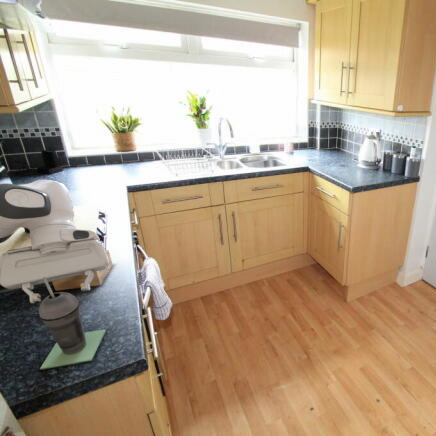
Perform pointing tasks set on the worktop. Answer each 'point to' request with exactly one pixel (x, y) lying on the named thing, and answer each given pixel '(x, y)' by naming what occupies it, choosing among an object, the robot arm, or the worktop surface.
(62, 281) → the holder
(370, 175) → the worktop surface
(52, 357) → the mat
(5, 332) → the worktop surface
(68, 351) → the beverage cup
